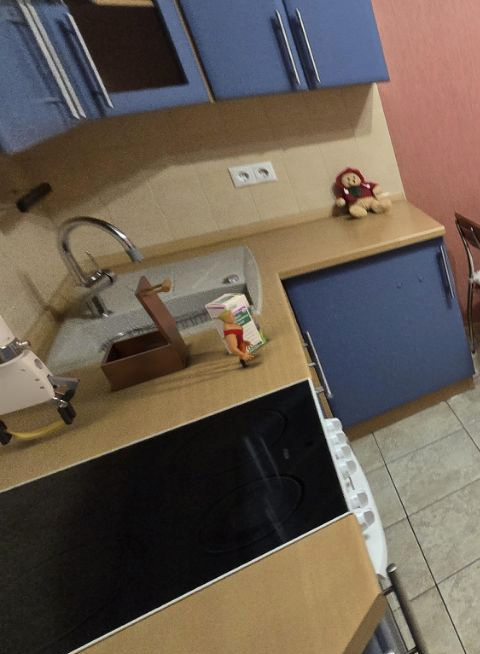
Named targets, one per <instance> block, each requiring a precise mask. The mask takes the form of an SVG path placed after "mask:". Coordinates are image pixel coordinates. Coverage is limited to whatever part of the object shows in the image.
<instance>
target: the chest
mask: <svg viewBox="0 0 480 654" xmlns="http://www.w3.org/2000/svg"><path fill="white" fill-rule="evenodd" d="M188 350H189V348H188V346H187V344H186V343H185V341H184V338H183V337H182V335H181V333H180V331H179V329H178V327H177V324H176V325H175V331H174V338H173V342H172V343H170V344H169V343H168V342H167V341H166V339H165V338H164V336H163V335H162V333H161V332H160V331H159V329H158V328H157V329H154V330H150V331H147V332H143V333H141V334H137V335H133V336H129V337H126V338H123V339H120V340H119V339H118V340H116V341H111V342H109V343H108V344H107V346H106V350H105V352H104V354H103V357H102V360H101V363H100V365H99V367H100V369H101V371H102V372H103V374H104V375H105V377H106V379H107V381H108V382H109V384H110V386H111V387H112V389H113V390H114V392H118V391H121V390H124V389H126V388H130V387H133V386H136V385H140V384H142V383H145V382H148V381H151V380H154V379H158V378H161V377H164V376H167V375H170V374H173V373H176V372H180V371H183V370H186V368H187V362H188V352H189V351H188Z"/></svg>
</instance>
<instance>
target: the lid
mask: <svg viewBox="0 0 480 654" xmlns="http://www.w3.org/2000/svg"><path fill="white" fill-rule="evenodd" d="M172 283H173V282H172V280H171V279H168V278H167V279H166V278H165V279H164V280H162V282H160V283H156V284H155V285H154V284H153V285H152V284H151V283H150V281H149V279H148V278H147V277H146V275H142V276H141V275H140V278H139V280H138V284H137V285H136V289H135V292H134V296H135V298H136V299H137V301H138V302H139V304H140V305H141V306H142V308H143V310H144V311H145V312H146V314H147V315H148V316H149V318H150V319H151V320H152V322H153V324H154V325H155V326H156V328H157V329H159V331H160V332H161V333H162V335H163V336H164V338H165V339H166V341H167V342H168V343H169V344H170V343H172V342H173V338H174V331H175V325H176V326H177V321H176V319H175V318H174V317H173V315H172V313H171V312H170V310H169V309H168V308H167V306H166V305H165V303H164V302H163V300H162V299H161V298H160V296H159V295H158V294H160V293H169V292H170V291H171V288H172Z"/></svg>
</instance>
